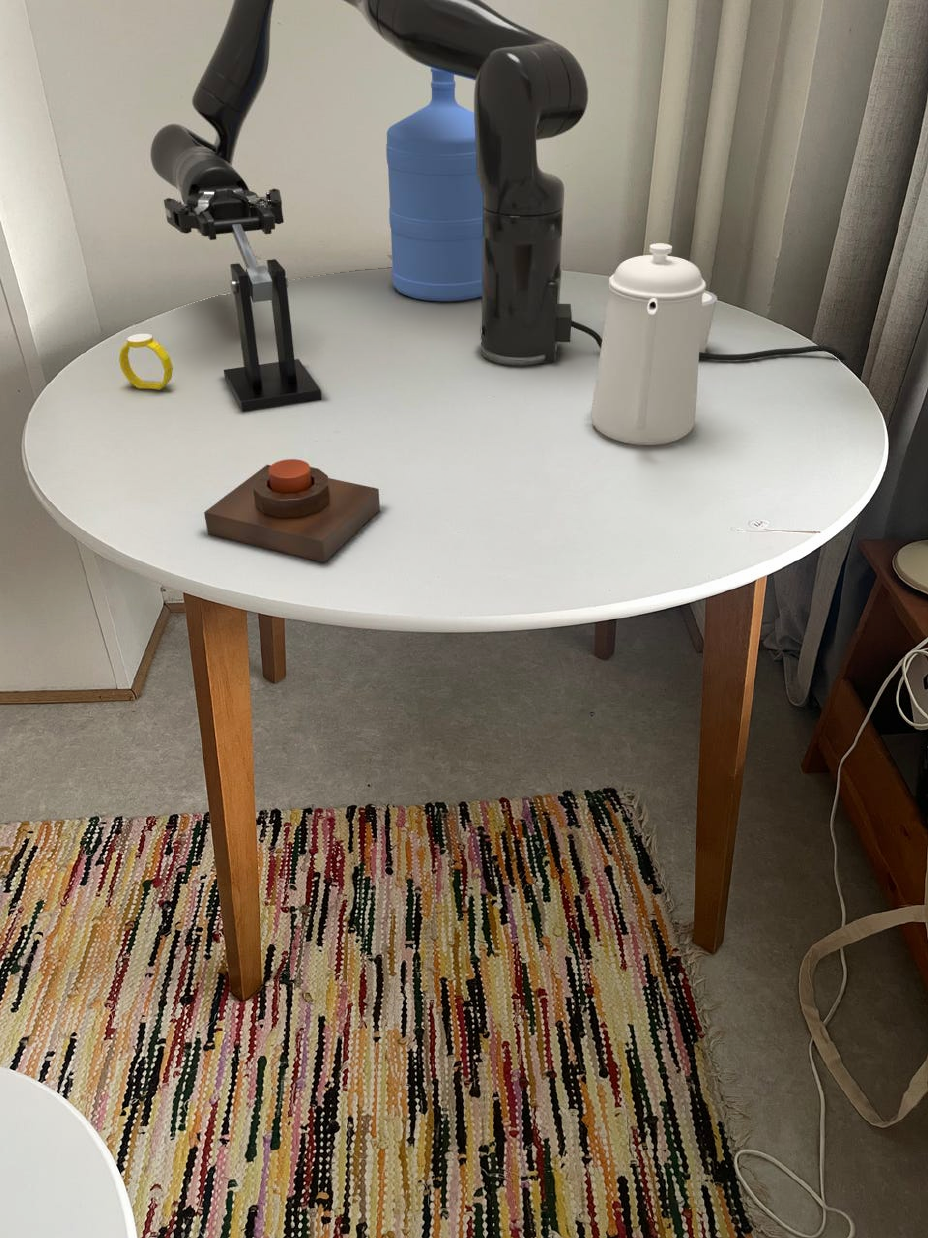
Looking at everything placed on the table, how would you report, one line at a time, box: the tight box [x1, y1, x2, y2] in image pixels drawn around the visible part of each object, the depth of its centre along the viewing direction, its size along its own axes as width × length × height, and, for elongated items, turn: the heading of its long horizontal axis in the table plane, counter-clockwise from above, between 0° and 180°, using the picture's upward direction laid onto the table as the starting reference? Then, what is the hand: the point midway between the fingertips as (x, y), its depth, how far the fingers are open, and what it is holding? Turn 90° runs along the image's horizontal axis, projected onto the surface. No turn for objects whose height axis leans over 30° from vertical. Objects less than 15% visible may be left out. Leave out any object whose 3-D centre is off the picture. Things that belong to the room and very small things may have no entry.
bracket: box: [223, 258, 322, 412], centre depth 111 cm, size 10×9×14 cm
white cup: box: [699, 290, 718, 353], centre depth 122 cm, size 7×7×7 cm
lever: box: [214, 217, 273, 303], centre depth 110 cm, size 13×6×2 cm, turn 22°
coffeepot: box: [590, 242, 707, 446], centre depth 100 cm, size 11×25×19 cm, turn 168°
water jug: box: [385, 67, 483, 302], centre depth 137 cm, size 16×16×28 cm
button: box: [269, 458, 312, 494], centre depth 88 cm, size 4×4×2 cm
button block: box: [203, 464, 381, 564], centre depth 89 cm, size 12×10×4 cm
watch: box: [118, 333, 174, 391], centre depth 113 cm, size 6×3×6 cm, turn 74°
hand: (240, 227), depth 111 cm, fingers closed on lever, 5 cm apart
